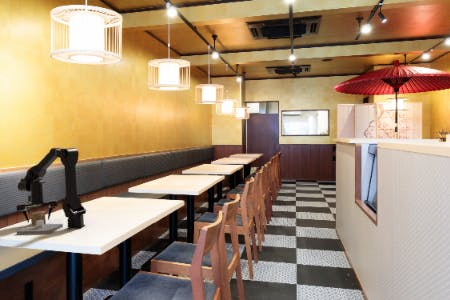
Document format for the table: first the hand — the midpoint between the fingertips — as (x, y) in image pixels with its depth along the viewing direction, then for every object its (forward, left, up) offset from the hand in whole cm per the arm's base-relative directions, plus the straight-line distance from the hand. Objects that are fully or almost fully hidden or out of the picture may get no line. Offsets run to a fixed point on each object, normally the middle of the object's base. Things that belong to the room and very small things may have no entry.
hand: (38, 221), depth 178 cm
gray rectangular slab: (-8, +12, -2) cm, 15 cm away
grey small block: (-8, +12, 0) cm, 14 cm away
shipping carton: (0, 0, -2) cm, 2 cm away
